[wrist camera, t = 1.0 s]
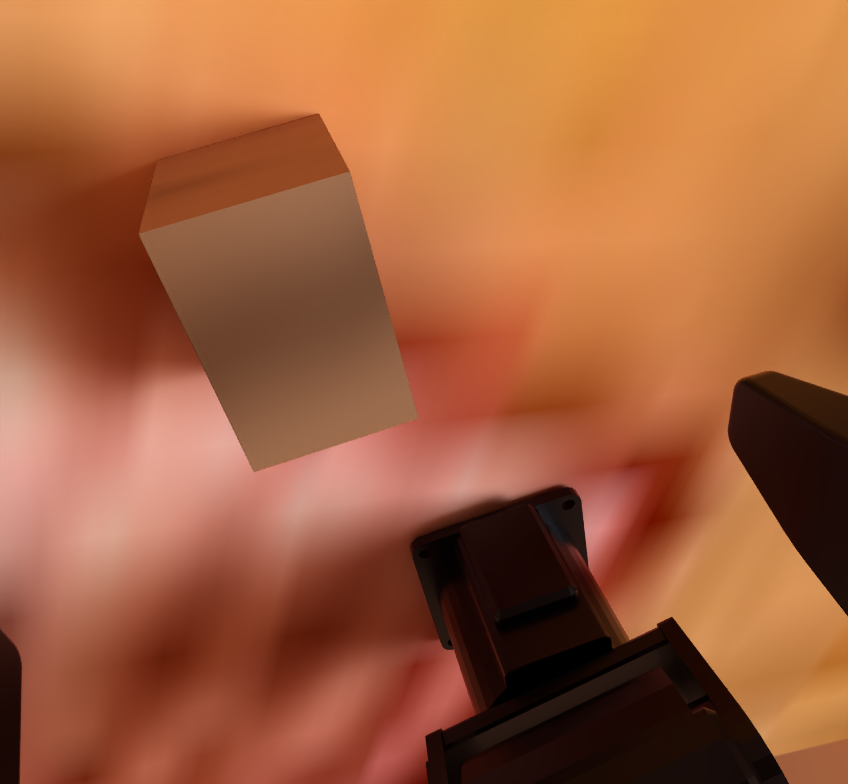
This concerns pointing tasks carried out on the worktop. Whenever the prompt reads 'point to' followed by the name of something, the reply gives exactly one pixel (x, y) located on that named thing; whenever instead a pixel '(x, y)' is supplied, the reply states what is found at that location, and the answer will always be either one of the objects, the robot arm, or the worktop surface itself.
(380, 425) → the block
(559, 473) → the worktop surface
